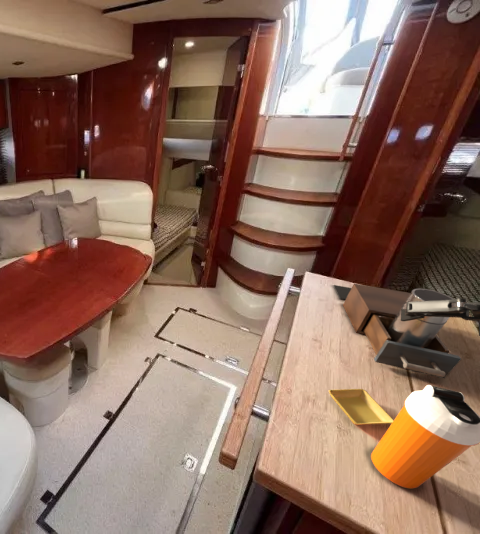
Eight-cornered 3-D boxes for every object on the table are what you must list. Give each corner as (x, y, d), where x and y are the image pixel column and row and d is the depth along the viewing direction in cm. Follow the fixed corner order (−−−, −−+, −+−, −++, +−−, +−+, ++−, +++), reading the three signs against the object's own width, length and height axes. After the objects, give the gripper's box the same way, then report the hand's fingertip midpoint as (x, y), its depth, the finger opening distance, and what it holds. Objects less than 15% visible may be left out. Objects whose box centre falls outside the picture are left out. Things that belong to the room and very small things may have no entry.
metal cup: (412, 342, 85) (448, 292, 76) (426, 363, 78) (467, 311, 70) (375, 334, 87) (406, 285, 79) (386, 354, 81) (420, 302, 73)
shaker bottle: (381, 487, 56) (443, 422, 46) (355, 440, 64) (404, 375, 54) (440, 500, 54) (518, 435, 44) (406, 450, 62) (467, 385, 52)
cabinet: (420, 346, 86) (438, 322, 82) (355, 332, 91) (369, 309, 87) (399, 315, 98) (413, 293, 93) (342, 305, 103) (353, 283, 99)
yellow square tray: (392, 428, 66) (397, 422, 65) (352, 429, 66) (356, 424, 65) (359, 394, 73) (363, 388, 72) (324, 395, 73) (327, 389, 72)
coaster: (363, 291, 110) (364, 290, 109) (372, 305, 103) (372, 304, 102) (333, 286, 113) (333, 284, 113) (339, 299, 106) (340, 298, 106)
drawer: (454, 392, 72) (472, 371, 69) (381, 373, 77) (394, 354, 74) (419, 342, 86) (432, 323, 83) (359, 330, 91) (369, 311, 88)
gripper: (438, 311, 55) (372, 324, 75) (657, 351, 46) (517, 354, 66) (439, 273, 57) (374, 295, 76) (652, 303, 48) (516, 320, 67)
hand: (440, 322), depth 71 cm, fingers open, 13 cm apart
